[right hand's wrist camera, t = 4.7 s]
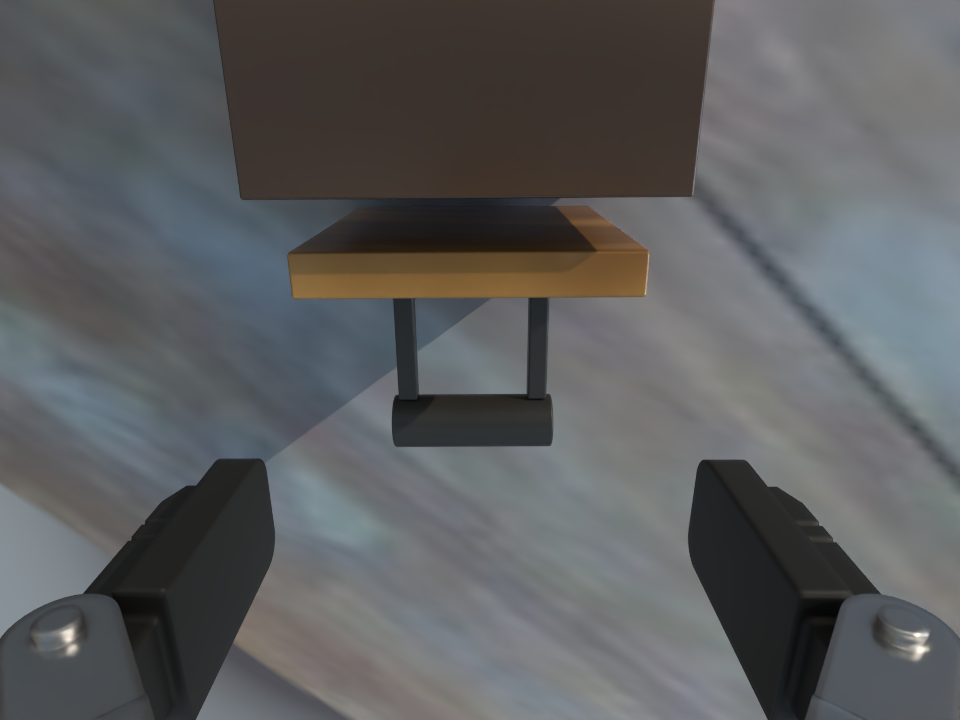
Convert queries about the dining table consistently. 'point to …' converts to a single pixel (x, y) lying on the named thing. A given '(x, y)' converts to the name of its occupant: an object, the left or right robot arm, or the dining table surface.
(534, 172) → the cabinet
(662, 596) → the dining table surface
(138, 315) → the dining table surface
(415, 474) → the dining table surface
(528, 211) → the drawer
